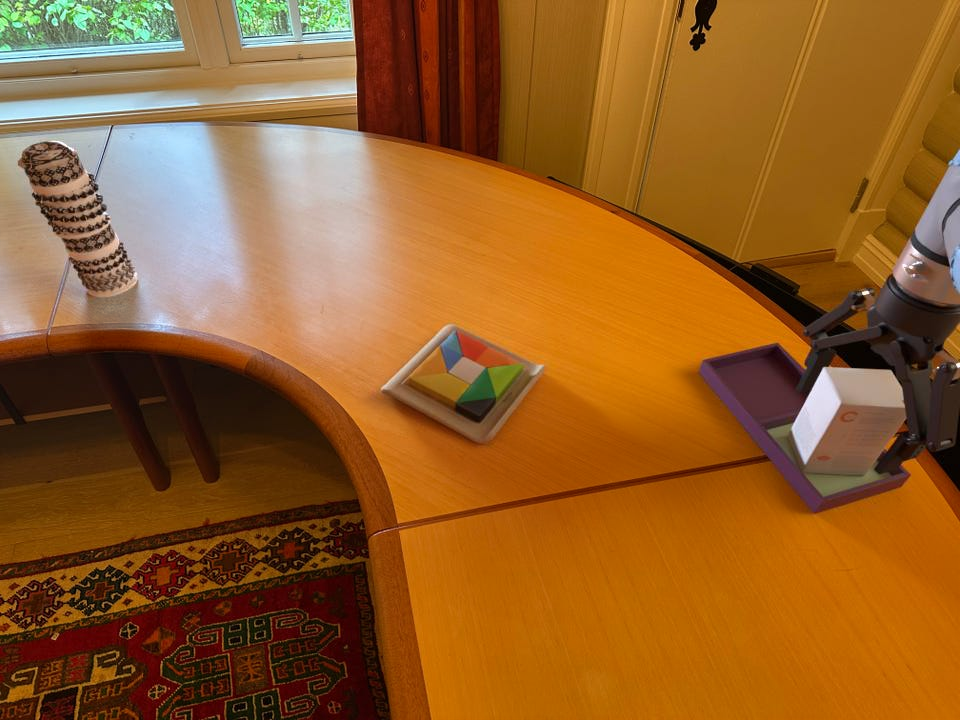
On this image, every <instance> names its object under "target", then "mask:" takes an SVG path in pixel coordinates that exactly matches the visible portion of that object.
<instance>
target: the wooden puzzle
mask: <svg viewBox="0 0 960 720" xmlns="http://www.w3.org/2000/svg"><path fill="white" fill-rule="evenodd" d="M546 368H547V366H546V365H545V364H540V363H539V364H538V363H536V362H533V361H531V360H529V359H527V358H525V357H523V356H520V355H519V354H516V353H514V352H511V351H510V350H508V349H506V348H503V347H502V346H499V345H498V344H495V343H494V342H491V341H489V340H487V339H485V338H484V337H481V336H479V335H477V334H475V333H472V332H470V331H469V330H466V329H464V328H463V327H460V326H459V325H456V324H453V323H452V324H450V323H449V324H447V325H445V326H444V327H442V328H441V329H440V330H439V331H438V332H437V333H436V334H435V336H434V337H433V338H432V339H430V341H428V342H427V343H426V344H425V345H424V346H423V347H422V348H421V349H420V350H419V351H418V352H417V353H416V354H415V355H414V356H413V357H412V358H411V359H410V360H409V361H408V362H407V363H406V364H405V365H403V367H402V368H400V369H399V370H398V371H397V372H396V373H395V374H394V376H392V377H391V378H390V379H389V380H388V381H387V382H386V383H385V384H384V385H383V386H382V387H381V388H380V392H381V393H382V394H386V395H389V396H390V397H393V398H395V399H396V400H398V401H400V402H402V403H403V404H405V405H407V406H409V407H410V408H413V409H414V410H417V411H418V412H419V413H422V414H424V415H425V416H427V417H429V418H431V419H433V420H434V421H436V422H438V423H440V424H442V425H443V426H445V427H447V428H449V429H451V430H453V431H454V432H456V433H458V434H459V435H461V436H464V437H465V438H467V439H469V440H470V441H472V442H474V443H476V444H479V445H485V444H488V443H489V442H490V441H491V440H493V439H494V437H495V436H496V434H497V433H498V432H499V431H500V430H501V428H502V427H503V425H504V424H505V423H506V422H507V421H508V419H509V418H510V416H511V415H512V414H513V413H514V412H515V410H516V409H517V407H518V406H519V405H520V404H521V403H522V401H523V400H524V399H525V397H526V396H527V395H528V393H529V392H530V391H531V389H532V388H533V387H534V386H535V385H536V383H537V382H538V380H539V379H540V378H541V376H543V374H544V373H545V372H546Z"/></svg>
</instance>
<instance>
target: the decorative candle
mask: <svg viewBox="0 0 960 720" xmlns="http://www.w3.org/2000/svg"><path fill="white" fill-rule="evenodd" d="M78 153H79V152H78V150H77V149H76V148H75V147H73V146H68V145H66V144H65V143H64V142H62V141H58V140H57V141H56V140H46V141H40V142H36V143H33V144H31V145H29V146H27V147H26V148H24V150H22V153H21V157H20V158H19V160H17V166H18V167H20V168H21V169H23V170H24V174H25V175H26V176H27V178H28V180H29V185H30V187H31V189H32V190H33V192H32V193H31V197H32V198H33V199H34V200H35V206H37V207H39V208H40V214H41V215H43V216H44V218H46V220H47V225H48V226H50V227H51V228H52V233H54V235H55V236H57V237H58V238H60V239H61V241H62V243H63V244H64V245H65V247H64V248H65V251H66V252H67V254H68V260H69V262H71V264H72V265H73V266H72V268H73V269H74V270H75V271H76V272H77V278H78V279H79V280H80V281H81V285H82V286H83V287H84V288H85V290H86V292H87V293H88V294H89V295H90V296H92V297H96V298H111V297H113V296H119V295H121V294H124V293H125V292H127V291H130V289H132V288H133V287H134V286H135V285H136V284H137V282H138V280H139V277H138V273H137V272H136V270H135V266H134V265H133V264H132V259H131V258H129V256H128V251H127V250H126V249H125V247H124V242H122V241H121V240H120V239H119V237H118V235H117V233H116V232H115V231H114V229H113V227H112V225H111V222H112V220H111V216H110V214H108V213H106V212H107V210H108V209H107V208H108V206H107V204H106V203H103V202H104V196H103V195H101V194H99V193H97V192H98V191H99V184H98V183H95V180H96V179H95V175H94V174H92V173H90V172H88V171H87V169H86V168H85V167H84V166H83V164H82V161H81V159H80V158H79V154H78Z"/></svg>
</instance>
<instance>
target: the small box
mask: <svg viewBox="0 0 960 720" xmlns="http://www.w3.org/2000/svg"><path fill="white" fill-rule="evenodd" d="M906 420H907V418H906V411H905V405H904V398H903V391H902V384H900V382H899V380H898V379H897V377H896V375H895V374H894V372H893V370H891V369H881V368H880V369H878V368H877V369H875V368H858V367H857V368H854V367H853V368H852V367H836V366H835V367H834V366H833V367H832V366H829V367H824V368H823V369H822V371H821V373H820V375H819V377H818V379H817V381H816V383H815V385H814V386H813V388H812V390H811V392H810V394H809V396H808V398H807V400H806V402H805V403H804V405H803V407H802V409H801V411H800V413H799V415H798V417H797V419H796V420H795V422H794V424H793V426H792V428H791V430H790V432H789V434H788V439H789V441H790V444H791V446H792V449H793V451H794V454H795V457H796V460H797V462H798V465H799V467H800V470H801V471H802V473H821V474H839V475H858V476H865V475H866V474H867V472H868V471H869V469H870V468H871V467H872V465H873V464H874V462H875V461H876V460H877V458H878V457H879V455H880V454H881V453H882V451H883V450H884V449H886V447H887V446H888V445H889V443H890V441H891V440H892V439H893V438H894V436H895V435H896V433H897V432H898V431H899V429H900V428H901V427H902V426H903V424H904V422H905V421H906Z"/></svg>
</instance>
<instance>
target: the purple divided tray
mask: <svg viewBox="0 0 960 720" xmlns="http://www.w3.org/2000/svg"><path fill="white" fill-rule="evenodd" d="M805 370H806V368H804V366H803V365H801V364H800V363H799V362H798V361H797V359H795V358H794V357H793V356H792V355H791V354H790V353H789V352H788V351H787V350H786V349H785V348H784V347H783V346H782V345H781V343H779V342H774V343H769V344H765V345H761V346H756V347H752V348H748V349H744V350H739V351H734V352H730V353H726V354H723V355H718V356H712V357H709V358H705V359H702V361H701V363H700V366H699V370H698V374H699V375H700V376H701V378H702V379H703V381H705V382H706V384H707V385H708V386H709V387H710V389H711V390H712V391H713V392H714V393H715V395H716V396H717V397H718V398H719V400H720V401H721V402H722V403H723V405H724V406H725V407H726V408H727V409H728V411H729V412H730V413H731V414H732V416H734V418H735V419H736V420H737V422H738V423H739V424H740V425H741V426H742V428H743V429H744V430H745V431H746V432H747V434H748V435H749V436H750V437H751V438H752V440H753V441H754V442H755V443H756V445H757V446H758V447H759V448H760V450H762V452H763V453H764V454H765V456H766V457H767V458H768V459H769V461H771V463H772V464H773V465H774V467H775V468H776V469H777V470H778V471H779V473H780V474H781V475H782V476H783V478H785V480H786V481H787V482H788V484H789V485H790V486H791V487H792V489H793V490H794V491H795V492H796V493H797V495H798V496H799V497H800V498H801V499H802V501H803V502H804V503H805V504H806V506H807V507H808V508H809V509H810V510H811V512H812V513H813V514H819V513H821V512H825V511H828V510H832V509H835V508H838V507H841V506H844V505H849V504H850V503H851V504H852V503H855V502H858V501H861V500H864V499H867V498H870V497H873V496H877V495H880V494H883V493H886V492H889V491H892V490H896V489H900V488H901V487H903V486H904V484H905V483H906V482H907V481H908V480H909V478H910V477H911V476H912V474H911V473H910V472H909V471H908V470H907V469H906V468H905V467H904V466H903V464H901V465H900V467H899V468H898V469H896V470H893V471H889V472H886V473H883V474H878V473H877V472H876V471H875V470H874V469H875V467H876V466H877V465H878V463H879V462H880V460H881V459H882V458H883V456H884V455H885V454H886V452H887V451H888V449H886V448H885V449H884V450H883V451H882V453H881V454H880V455H879V457H878V458H877V460H876V461H875V462H874V464H873V465H872V467H871V468H870V469H869V471H868V472H867V474H866V475H865V476H858V475H839V474H821V473H802V471H801V470H800V467H799V465H798V462H797V460H796V457H795V454H794V451H793V449H792V446H791V444H790V441H789V439H788V434H789V432H790V430H791V428H792V426H793V424H794V422H795V420H796V419H797V417H798V415H799V413H800V411H801V409H802V407H803V405H804V403H805V402H806V400H807V398H808V396H809V394H810V392H811V390H810V391H806V392H802V393H799V392H798V391H797V390H796V388H797V386H798V384H799V382H800V380H801V378H802V376H803V374H804V372H805Z"/></svg>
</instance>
